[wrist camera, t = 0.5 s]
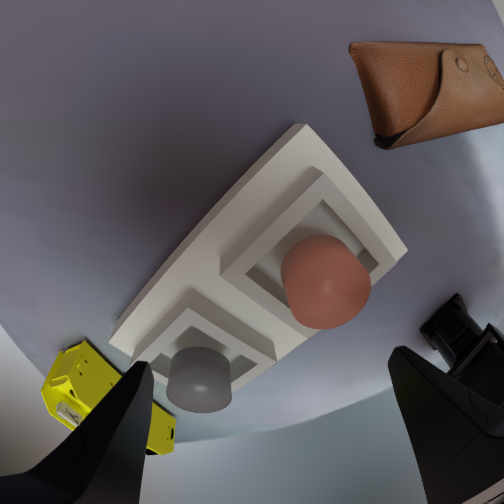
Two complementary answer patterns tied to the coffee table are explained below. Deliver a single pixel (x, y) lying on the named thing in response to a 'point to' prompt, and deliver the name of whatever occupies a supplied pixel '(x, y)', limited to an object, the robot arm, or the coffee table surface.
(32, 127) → the coffee table surface
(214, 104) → the coffee table surface
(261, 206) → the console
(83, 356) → the yellow toy chassis
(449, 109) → the sunglasses case
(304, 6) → the coffee table surface
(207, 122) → the coffee table surface
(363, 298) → the pink rounded ball
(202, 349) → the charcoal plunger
